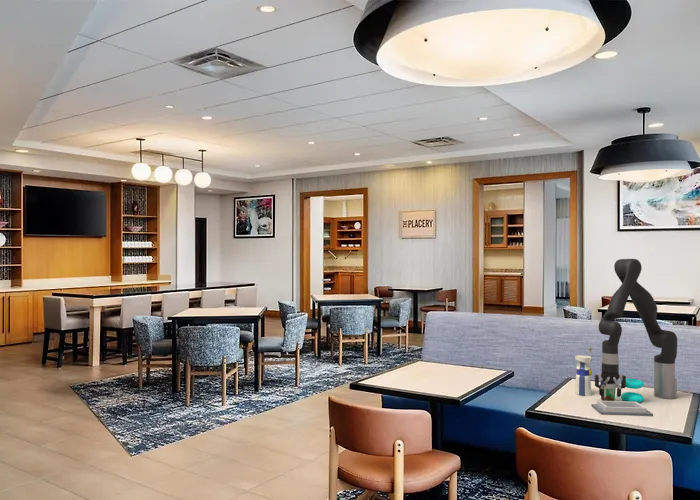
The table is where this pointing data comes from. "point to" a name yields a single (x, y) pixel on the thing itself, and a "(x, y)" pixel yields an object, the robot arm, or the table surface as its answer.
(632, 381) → the donuts
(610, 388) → the food container
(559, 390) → the table surface
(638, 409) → the tray
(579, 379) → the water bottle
